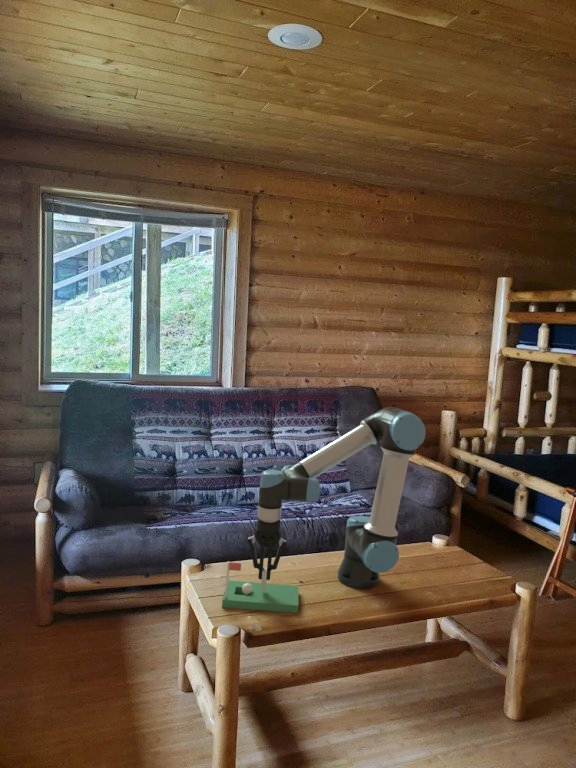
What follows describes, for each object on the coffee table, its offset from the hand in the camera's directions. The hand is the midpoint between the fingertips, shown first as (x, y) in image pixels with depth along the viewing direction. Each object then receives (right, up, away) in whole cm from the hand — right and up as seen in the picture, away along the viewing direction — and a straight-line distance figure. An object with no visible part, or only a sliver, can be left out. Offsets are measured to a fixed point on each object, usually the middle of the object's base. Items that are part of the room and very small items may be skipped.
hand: (263, 588), depth 192 cm
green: (-1, -4, +1) cm, 4 cm away
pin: (-10, -1, -6) cm, 11 cm away
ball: (-5, 0, 0) cm, 5 cm away
